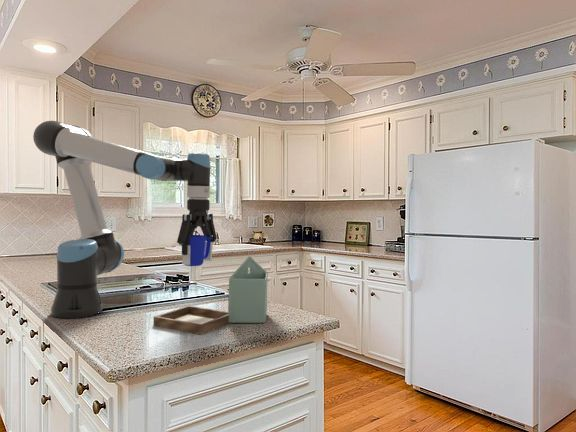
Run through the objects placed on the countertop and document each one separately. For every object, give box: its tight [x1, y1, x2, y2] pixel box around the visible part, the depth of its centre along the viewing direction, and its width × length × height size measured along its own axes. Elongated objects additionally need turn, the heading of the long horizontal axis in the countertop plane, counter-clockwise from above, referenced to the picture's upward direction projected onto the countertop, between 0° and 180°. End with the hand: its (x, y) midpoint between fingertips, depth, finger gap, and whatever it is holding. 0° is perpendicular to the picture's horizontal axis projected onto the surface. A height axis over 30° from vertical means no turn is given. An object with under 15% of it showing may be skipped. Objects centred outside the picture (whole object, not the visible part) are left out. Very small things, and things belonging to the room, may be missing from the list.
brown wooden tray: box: [152, 305, 230, 335], centre depth 134 cm, size 18×16×3 cm
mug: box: [181, 234, 211, 267], centre depth 151 cm, size 8×12×10 cm
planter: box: [227, 255, 269, 324], centre depth 138 cm, size 16×8×20 cm, turn 138°
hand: (197, 262), depth 151 cm, fingers closed on mug, 11 cm apart
